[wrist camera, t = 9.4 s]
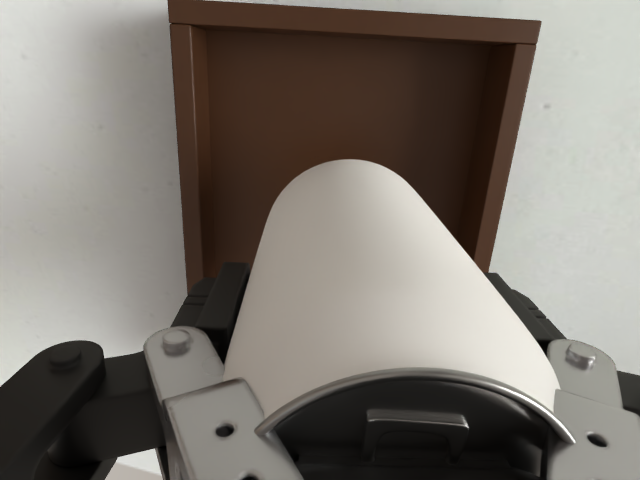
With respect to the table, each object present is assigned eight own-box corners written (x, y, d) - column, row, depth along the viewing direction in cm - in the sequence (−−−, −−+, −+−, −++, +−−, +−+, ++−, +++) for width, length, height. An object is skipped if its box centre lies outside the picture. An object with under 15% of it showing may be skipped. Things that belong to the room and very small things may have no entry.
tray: (190, 9, 19) (167, -3, 16) (505, 27, 19) (542, 20, 16) (207, 339, 25) (192, 377, 22) (445, 347, 25) (464, 386, 22)
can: (261, 300, 19) (186, 646, 8) (270, 147, 16) (181, 324, 5) (411, 312, 19) (549, 659, 8) (441, 164, 17) (699, 364, 6)
